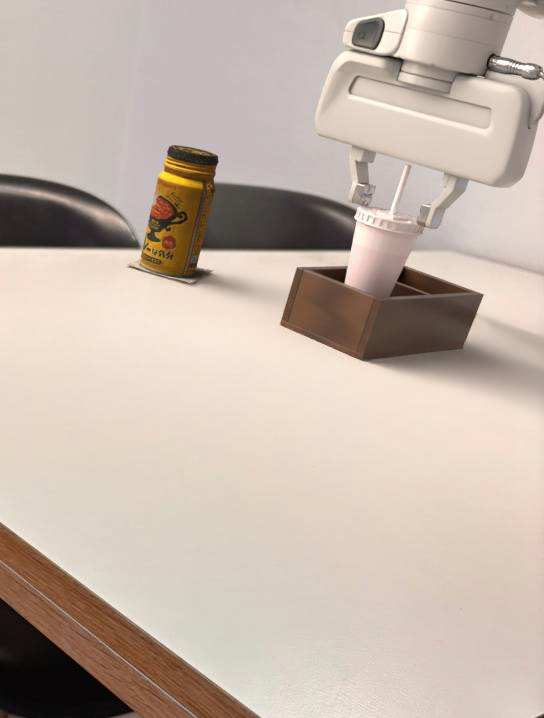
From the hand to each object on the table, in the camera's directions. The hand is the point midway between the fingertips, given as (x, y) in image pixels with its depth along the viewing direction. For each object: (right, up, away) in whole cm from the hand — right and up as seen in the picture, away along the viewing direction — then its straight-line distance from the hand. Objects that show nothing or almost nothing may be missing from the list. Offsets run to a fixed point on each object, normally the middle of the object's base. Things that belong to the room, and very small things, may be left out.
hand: (391, 215), depth 98 cm
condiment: (-19, +1, +17) cm, 25 cm away
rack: (+1, -9, +9) cm, 12 cm away
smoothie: (-2, -8, +5) cm, 10 cm away
